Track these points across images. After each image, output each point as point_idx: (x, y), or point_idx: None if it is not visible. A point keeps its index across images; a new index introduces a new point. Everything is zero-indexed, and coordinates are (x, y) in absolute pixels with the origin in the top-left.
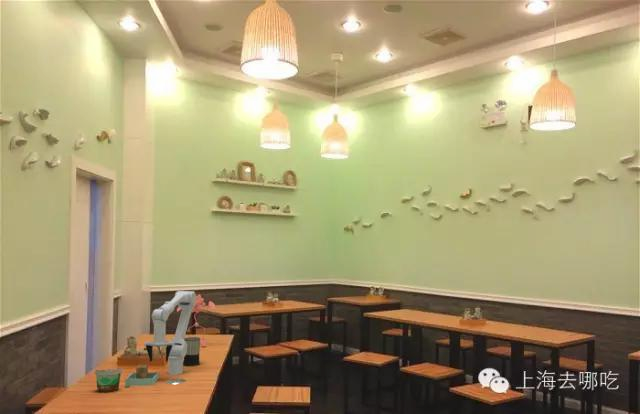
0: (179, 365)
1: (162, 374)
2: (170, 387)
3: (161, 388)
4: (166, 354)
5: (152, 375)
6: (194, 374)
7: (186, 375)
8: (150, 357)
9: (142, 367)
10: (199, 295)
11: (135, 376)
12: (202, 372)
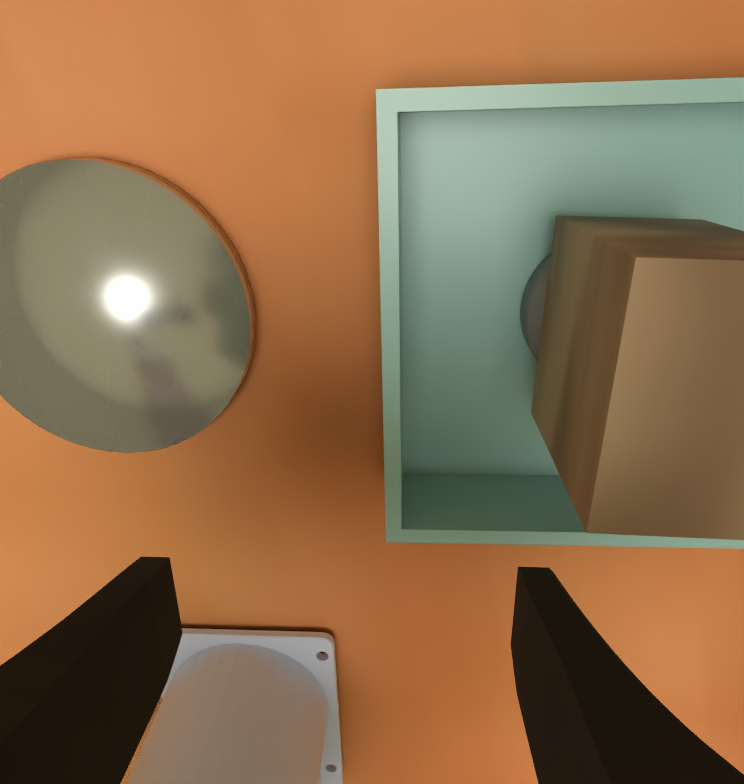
0: (144, 762)
1: (404, 721)
2: (108, 83)
3: (230, 13)
4: (49, 670)
5: (475, 506)
6: None
7: None
8: (561, 628)
9: (691, 272)
10: None
11: None
12: None
